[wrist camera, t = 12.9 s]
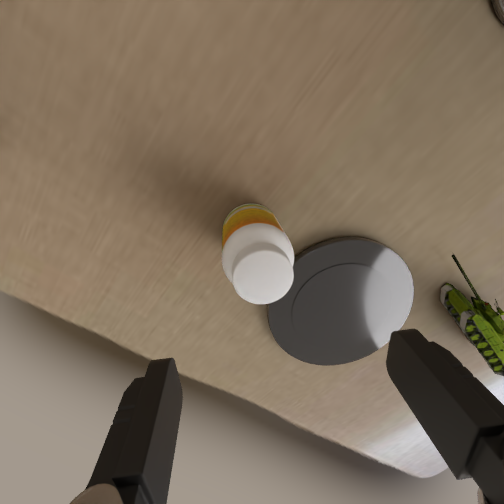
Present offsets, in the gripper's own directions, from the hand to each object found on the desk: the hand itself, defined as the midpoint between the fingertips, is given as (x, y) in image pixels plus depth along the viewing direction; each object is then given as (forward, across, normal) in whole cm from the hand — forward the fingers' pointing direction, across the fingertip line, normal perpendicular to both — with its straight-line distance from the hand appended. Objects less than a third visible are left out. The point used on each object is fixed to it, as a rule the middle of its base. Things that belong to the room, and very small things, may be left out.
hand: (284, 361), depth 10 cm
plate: (+17, -9, +11) cm, 22 cm away
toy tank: (+18, -24, +11) cm, 32 cm away
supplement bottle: (+18, 0, +1) cm, 18 cm away
